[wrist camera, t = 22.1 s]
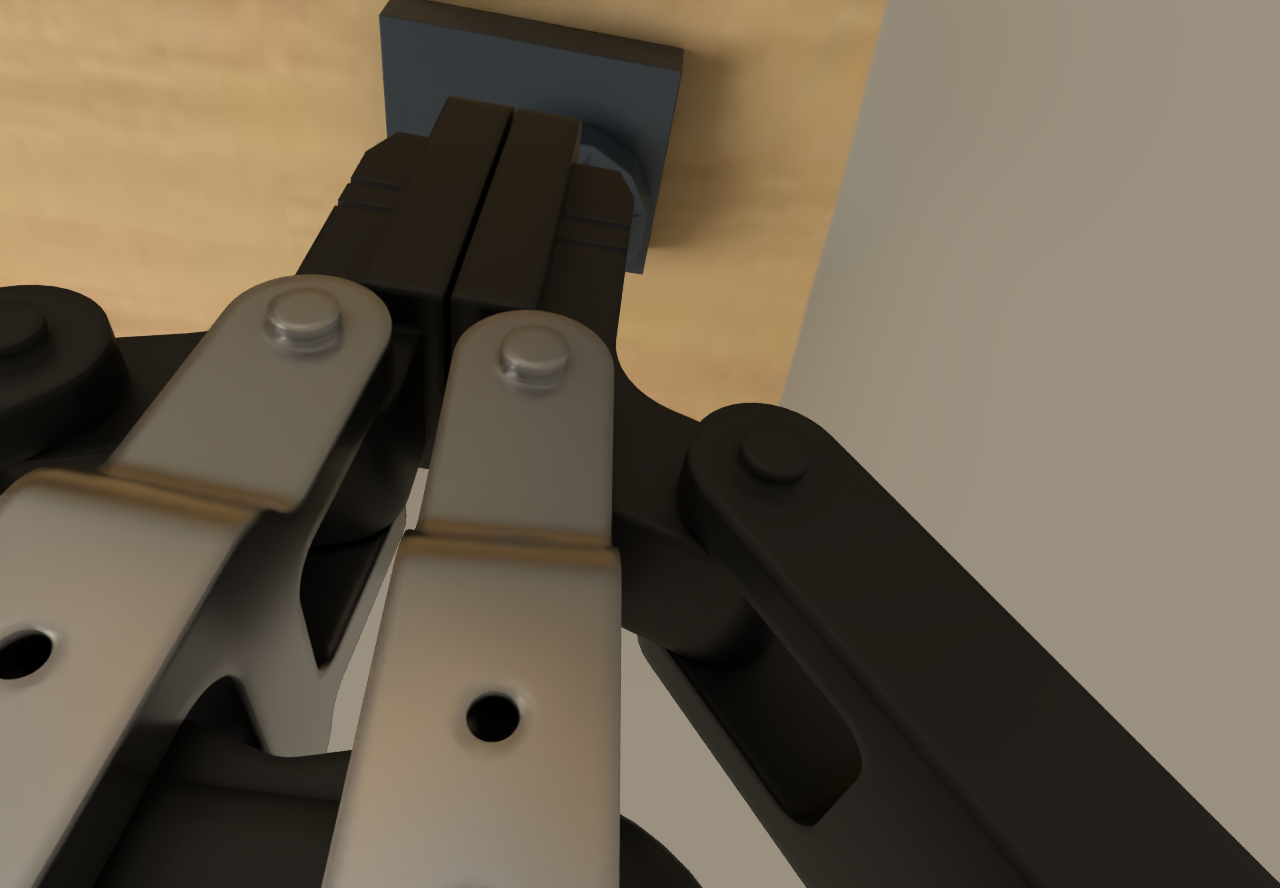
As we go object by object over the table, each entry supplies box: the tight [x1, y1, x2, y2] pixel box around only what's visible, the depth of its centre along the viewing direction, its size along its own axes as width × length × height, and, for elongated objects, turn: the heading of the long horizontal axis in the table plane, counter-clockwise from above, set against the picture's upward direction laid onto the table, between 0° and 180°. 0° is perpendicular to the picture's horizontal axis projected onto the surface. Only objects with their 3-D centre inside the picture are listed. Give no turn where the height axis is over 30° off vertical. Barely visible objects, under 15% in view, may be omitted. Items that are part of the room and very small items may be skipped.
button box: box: [379, 0, 684, 274], centre depth 37 cm, size 12×10×4 cm
